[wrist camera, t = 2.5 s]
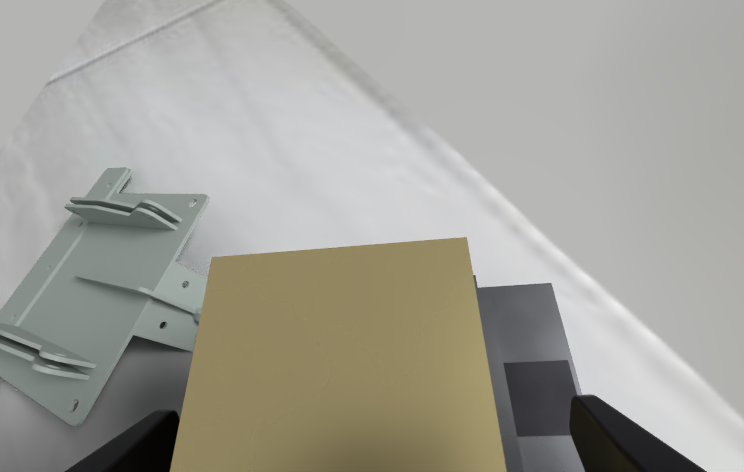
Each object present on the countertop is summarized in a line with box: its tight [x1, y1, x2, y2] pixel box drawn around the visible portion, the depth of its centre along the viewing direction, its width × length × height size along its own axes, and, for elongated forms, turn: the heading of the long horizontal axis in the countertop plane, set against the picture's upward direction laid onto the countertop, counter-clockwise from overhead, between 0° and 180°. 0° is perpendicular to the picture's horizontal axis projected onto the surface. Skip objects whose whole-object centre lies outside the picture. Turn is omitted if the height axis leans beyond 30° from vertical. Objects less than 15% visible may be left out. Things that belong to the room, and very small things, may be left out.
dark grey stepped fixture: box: [473, 275, 585, 472], centre depth 13 cm, size 8×12×5 cm
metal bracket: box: [0, 167, 210, 426], centre depth 20 cm, size 14×6×15 cm
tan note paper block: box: [170, 237, 507, 472], centre depth 9 cm, size 4×4×9 cm
